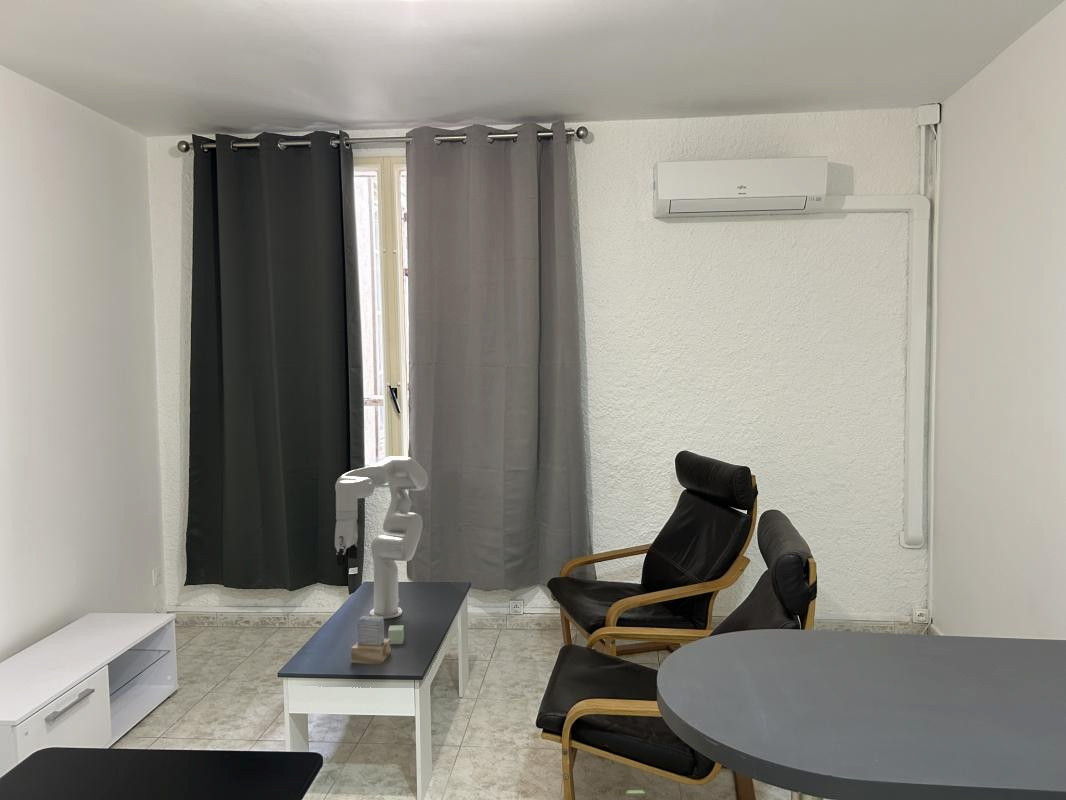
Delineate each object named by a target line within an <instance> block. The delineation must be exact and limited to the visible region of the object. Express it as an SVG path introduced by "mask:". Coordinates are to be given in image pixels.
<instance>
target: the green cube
mask: <svg viewBox="0 0 1066 800" xmlns="http://www.w3.org/2000/svg"><path fill="white" fill-rule="evenodd" d="M404 628H405V626H404V624H403V625H402V624H400V625H398V624H397V625H389V627H388V631H387V632H388V634H387V636H388V637H387V639H390V645H403V643H404V639H405V634H404V631H405V629H404Z"/></svg>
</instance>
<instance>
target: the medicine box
mask: <svg viewBox="0 0 1066 800" xmlns="http://www.w3.org/2000/svg"><path fill="white" fill-rule="evenodd" d="M384 623H385V619H384V617H374V616H371V615H361V616H360V618H358V619H357V642H358V645H374V646H380V645H381V644H382V643H383V642H384V639H385V624H384Z"/></svg>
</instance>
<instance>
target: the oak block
mask: <svg viewBox="0 0 1066 800" xmlns="http://www.w3.org/2000/svg"><path fill="white" fill-rule="evenodd" d="M350 651H351V652H350V655H351V658H350V662H351V663H352V664H354V663H355V664H364V665H377V666H378V665H379V666H380V665H381V664H382V663H383V662H384V661H385V660H386V659H387V658H388V657H389V656H390V654H391V653H392V652H391V644H390V639H388V638H384V642H383V643H382V644H381V645H380V646H374V645H358V641H357V642H356V643H355V644H354V645H352V646H351V649H350Z"/></svg>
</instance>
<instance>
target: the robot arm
mask: <svg viewBox="0 0 1066 800" xmlns="http://www.w3.org/2000/svg"><path fill="white" fill-rule="evenodd" d="M387 483H388V487H389V492H390V503H389V505H388V509H387V511H386V515H385V518H384V519H383V524H382V529H383V531H384V532H385V533H386V534H380V535H377V536H375V537H373V539H372V541H371V545H370V551H371V556H372V563H373V608H372V609H371V610H370V611H369V616H374V617H384V620H387V619H389V620H390V619H394V618H397V617H400V616H401V615H402V614H403V609H402V608H401V607H399V602H400V598H399V567H398V565H397V563H396V562H397V561H398V562H408V561H409V562H410V561H411V560H412V559H413V558H414V555H415V553H416V551H417V547H418V544H419V541H420V538H421V535H422V530H423V526H424V525H423V523H424V521H423V518H422V516H421V514H419V513H416V512H411V511H410V510H411V507H412V500H411V497H410V496H409V495H408V493H407V491H408V490H409V491H423V490H425V489H426V488H427V486H428V484H429V476H428V473H427V472H426V470H425V469H424V467H422V466H421V465H420V463H419V462H418V461H416V459H414V458H412V457H411V456H410V457H408V456H393V455H392V456H387V457H385V458H383V459H382V460H380V461H378V462H376V463H374V464H373V465H369V466H365V467H362V468H358V469H357V468H356V469H353V470H350V471H348V472H345V473H344V474H342V475H341V476H339V477H338V478H337V480H336V482H335V485H334V488H335V514H336V515H335V520H336V522H335V530H334V532H335V533H334V547H335V551H336V566H340V567H341V566H343V567H345V566H346V565H347V558H348V559H357V558H358V542H359V533H358V521H357V520H359V518H358V513H359V512H358V510H359V509H358V506H359V505H358V504H359V503H358V501H359V500H358V499H365V498H369V497H371V496H372V495H373V493H374V492H375V488H376V487H381V486H383V485H385V484H387ZM346 551H348V554H346ZM347 555H348V557H347Z"/></svg>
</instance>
